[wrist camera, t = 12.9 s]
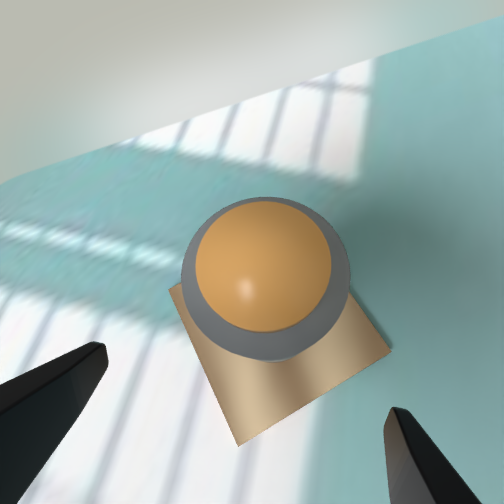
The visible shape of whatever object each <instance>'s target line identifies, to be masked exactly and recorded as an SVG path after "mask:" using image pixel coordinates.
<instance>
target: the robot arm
mask: <svg viewBox="0 0 504 504" xmlns="http://www.w3.org/2000/svg"><path fill="white" fill-rule="evenodd" d="M108 363H109V361H108V355H107V350H106V346H105V344H103V343H100V342H95V341H93V342H89V343H87V344H85V345H83V346H81V347H79V348H77V349H75V350H72V351H70V352H68V353H66V354H64V355H62V356H60V357H58V358H56V359H53V360H51V361H49V362H47V363H45V364H43V365H41V366H39V367H37V368H34V369H32V370H30V371H28V372H26V373H24V374H22V375H20V376H18V377H15V378H13V379H11V380H9V381H7V382H5V383H3V384H1V385H0V504H17V503H18V501H19V500H20V499H21V497H22V496H23V494H24V493H25V491H26V490H27V489H28V487H29V486H30V484H31V483H32V482H33V480H34V479H35V477H36V476H37V475H38V473H39V472H40V470H41V469H42V468H43V466H44V465H45V463H46V462H47V461H48V459H49V458H50V456H51V455H52V453H53V452H54V451H55V449H56V448H57V446H58V445H59V444H60V442H61V441H62V439H63V438H64V437H65V435H66V434H67V432H68V431H69V430H70V428H71V427H72V425H73V424H74V423H75V421H76V420H77V418H78V417H79V415H80V414H81V412H82V411H83V409H84V407H85V406H86V404H87V402H88V401H89V399H90V397H91V395H92V394H93V392H94V390H95V389H96V387H97V385H98V383H99V382H100V380H101V378H102V377H103V375H104V373H105V372H106V370H107V367H108ZM384 444H385V455H386V466H387V477H388V487H389V496H390V502H391V504H482V503H481V502H480V501H479V499H478V498H477V497H476V496H475V494H474V493H473V492H472V490H471V489H470V488H469V487H468V485H467V484H466V483H465V482H464V480H463V479H462V478H461V476H460V475H459V474H458V473H457V471H456V470H455V469H454V468H453V466H452V465H451V464H450V462H449V461H448V460H447V459H446V457H445V456H444V455H443V454H442V452H441V451H440V450H439V448H438V447H437V446H436V445H435V443H434V442H433V441H432V439H431V438H430V437H429V436H428V434H427V433H426V432H425V431H424V429H423V428H422V427H421V425H420V424H419V423H418V422H417V420H416V419H415V418H414V417H413V415H412V414H411V413H410V412H409V411H408V410H406V409H403V408H398V407H392V408H391V409H390V412H389V414H388V417H387V419H386V422H385V425H384Z"/></svg>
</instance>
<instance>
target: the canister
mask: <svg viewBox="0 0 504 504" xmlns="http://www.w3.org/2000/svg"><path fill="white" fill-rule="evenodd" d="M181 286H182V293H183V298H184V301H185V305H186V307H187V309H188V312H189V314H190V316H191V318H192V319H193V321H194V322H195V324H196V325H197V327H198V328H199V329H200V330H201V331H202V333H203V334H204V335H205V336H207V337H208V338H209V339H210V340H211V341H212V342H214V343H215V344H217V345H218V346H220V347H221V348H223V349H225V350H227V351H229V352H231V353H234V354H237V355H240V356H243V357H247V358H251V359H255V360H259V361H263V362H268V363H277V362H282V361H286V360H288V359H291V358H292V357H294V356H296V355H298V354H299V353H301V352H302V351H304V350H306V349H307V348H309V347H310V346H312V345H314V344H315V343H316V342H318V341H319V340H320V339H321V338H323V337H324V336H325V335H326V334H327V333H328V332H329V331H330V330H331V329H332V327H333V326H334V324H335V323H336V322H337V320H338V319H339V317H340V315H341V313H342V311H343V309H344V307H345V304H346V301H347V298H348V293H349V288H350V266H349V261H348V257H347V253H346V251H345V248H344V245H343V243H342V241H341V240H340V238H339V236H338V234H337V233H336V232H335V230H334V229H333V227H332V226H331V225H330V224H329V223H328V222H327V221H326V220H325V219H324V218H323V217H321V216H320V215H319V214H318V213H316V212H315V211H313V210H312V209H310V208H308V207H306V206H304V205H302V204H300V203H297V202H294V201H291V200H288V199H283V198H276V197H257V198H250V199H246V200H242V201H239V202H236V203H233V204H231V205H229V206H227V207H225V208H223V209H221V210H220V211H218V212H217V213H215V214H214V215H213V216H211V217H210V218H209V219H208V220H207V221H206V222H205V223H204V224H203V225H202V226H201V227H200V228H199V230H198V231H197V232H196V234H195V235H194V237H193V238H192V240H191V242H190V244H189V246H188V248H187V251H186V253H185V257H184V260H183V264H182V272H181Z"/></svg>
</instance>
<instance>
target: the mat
mask: <svg viewBox="0 0 504 504" xmlns="http://www.w3.org/2000/svg"><path fill="white" fill-rule="evenodd" d="M168 290H169V293H170V295H171V297H172V299H173V302H174V304H175V306H176V308H177V311H178V313H179V315H180V317H181V320H182V322H183V324H184V326H185V329H186V331H187V333H188V335H189V338H190V340H191V342H192V344H193V347H194V349H195V351H196V353H197V356H198V358H199V360H200V362H201V364H202V367H203V369H204V371H205V373H206V376H207V378H208V380H209V382H210V385H211V387H212V389H213V391H214V394H215V396H216V398H217V400H218V403H219V405H220V407H221V409H222V412H223V414H224V416H225V418H226V421H227V423H228V425H229V427H230V430H231V432H232V434H233V436H234V439H235V441H236V443H237V445H238V447H239V446H240V445H242V444H244V443H245V442H247V441H248V440H250V439H252V438H253V437H255V436H257V435H258V434H260V433H261V432H263V431H265V430H266V429H268V428H269V427H271V426H273V425H274V424H276V423H278V422H279V421H281V420H282V419H284V418H286V417H287V416H289V415H290V414H292V413H294V412H295V411H297V410H298V409H300V408H302V407H303V406H305V405H307V404H308V403H310V402H311V401H313V400H315V399H316V398H318V397H319V396H321V395H323V394H324V393H326V392H328V391H329V390H331V389H332V388H334V387H336V386H337V385H339V384H340V383H342V382H344V381H345V380H347V379H348V378H350V377H352V376H353V375H355V374H357V373H358V372H360V371H361V370H363V369H365V368H366V367H368V366H369V365H371V364H373V363H374V362H376V361H378V360H379V359H381V358H382V357H384V356H386V355H387V354H389V353H390V352H392V351H391V350H390V349H389V347H388V346H387V344H386V343H385V342H384V340H383V339H382V337H381V336H380V334H379V333H378V332H377V330H376V329H375V327H374V326H373V324H372V323H371V322H370V320H369V319H368V317H367V316H366V315H365V313H364V312H363V310H362V309H361V307H360V306H359V305H358V303H357V302H356V300H355V299H354V298H353V296H352V295H351V293H350V292H349V293H348V298H347V301H346V304H345V307H344V309H343V311H342V313H341V315H340V317H339V319H338V320H337V322H336V323H335V324H334V326H333V327H332V329H331V330H330V331H329V332H328V333H327V334H326V335H325V336H324V337H323V338H321V339H320V340H319V341H318V342H316V343H315V344H314V345H312V346H310V347H309V348H307V349H306V350H304V351H302V352H301V353H299V354H298V355H296V356H294V357H292V358H291V359H288V360H286V361H282V362H277V363H268V362H263V361H259V360H255V359H251V358H247V357H243V356H240V355H237V354H234V353H231V352H229V351H227V350H225V349H223V348H221V347H220V346H218V345H217V344H215V343H214V342H212V341H211V340H210V339H209V338H208V337H207V336H205V335H204V334H203V333H202V331H201V330H200V329H199V328H198V327H197V325H196V324H195V322H194V321H193V319H192V318H191V316H190V314H189V312H188V309H187V307H186V305H185V301H184V298H183V293H182V286H181V283H179V284H177V285H176V286H174V287H172V288H170V289H168Z"/></svg>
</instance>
